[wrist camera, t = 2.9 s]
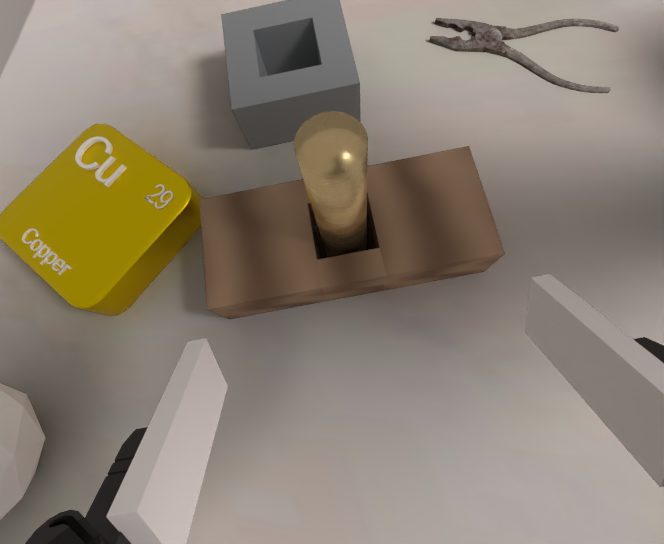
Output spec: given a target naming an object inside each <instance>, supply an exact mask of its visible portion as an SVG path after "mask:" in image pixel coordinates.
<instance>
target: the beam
mask: <svg viewBox="0 0 664 544" xmlns="http://www.w3.org/2000/svg"><path fill="white" fill-rule="evenodd" d="M200 214H201V229H202V243H203V258H204V272H205V287H206V301H207V310H209V311H212V312H214V313H216V314H219V315H221V316H223V317H226V318H228V319H233V318H238V317H244V316H249V315H254V314H260V313H265V312H270V311H276V310H281V309H286V308H292V307H297V306H302V305H308V304H313V303H318V302H324V301H329V300H334V299H340V298H345V297H350V296H356V295H361V294H366V293H372V292H377V291H382V290H388V289H393V288H398V287H403V286H409V285H414V284H419V283H425V282H430V281H435V280H441V279H446V278H451V277H457V276H462V275H467V274H473V273H478V272H483V271H485V270H486V269H488V268H489V267H490V266H491V265H492V264H493V263H494V262H495V261H497V260H498V259H499V258H500V257H501V256H502V255H503V254H505V252H504V249H503V246H502V243H501V240H500V238H499V235H498V232H497V229H496V226H495V223H494V220H493V217H492V214H491V211H490V208H489V205H488V202H487V199H486V196H485V193H484V190H483V187H482V184H481V181H480V178H479V175H478V172H477V169H476V166H475V163H474V160H473V157H472V154H471V151H470V148H469V146H467V147H462V148H457V149H452V150H447V151H442V152H437V153H432V154H427V155H422V156H417V157H412V158H407V159H402V160H396V161H391V162H386V163H381V164H376V165H371V166H367V220H368V225H369V229H370V234H371V238H372V243H373V247H374V249H371V250H365V251H360V252H355V253H350V254H344V255H339V256H334V257H329V258H324V259H321V258H320V252H319V247H318V241H317V235H316V229H315V227H316V226H318V225H317V222H316V219H315V215H314V212H313V209H312V206H311V203H310V199H309V196H308V193H307V190H306V186H305V183H304V180H303V179H301V180H296V181H291V182H286V183H281V184H276V185H271V186H266V187H261V188H256V189H251V190H246V191H241V192H236V193H231V194H226V195H221V196H216V197H211V198H206V199H201V200H200Z"/></svg>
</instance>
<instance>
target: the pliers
mask: <svg viewBox="0 0 664 544" xmlns="http://www.w3.org/2000/svg"><path fill="white" fill-rule="evenodd" d="M435 24H437V25H440V26H443V27H446V28H455V29H456V30H457V31H459V32H462V31H464V30H469V31H471V32H472V36H474V37H471V39H470V40H467V41H465V40H462V39H461V37H460V36H456V37H454V38H447V37H444V36H430V42H431V43H434V44H437V45H440V46H443V47H446V48H449V49H451V50H454V51H465V52H488V53H492V54H497V55H501V56H504V57H507V58H509V59H511V60H513V61H515V62H517V63H519V64H520V65H522V66H524V67H525V68H527V69H528V70H530V71H532V72H533V73H535V74H536V75H538V76H540V77H541V78H543V79H545V80H547V81H549V82H551V83H553V84H556V85H558V86H561V87H565V88H568V89H572V90H577V91H582V92H590V93H608V92H609V91H610V87H592V86H585V85H580V84H576V83H572V82H569V81H565V80H563V79H560V78H558V77H556V76H554V75H552V74H551V73H549V72H548V71H546V70H545V69H543V68H542V67H540V66H539V65H537V64H536V63H535V62H533V61H532V60H530V59H529V58H528V57H526V56H525V55H523V54H522V53H520V52H518V51H516V50H514V49H513V48H511V47H509V46H507V45H506V44H505V43H504V42H503V41H502V40H510V39H517V38H523V37H527V36H531V35H535V34H538V33H541V32H545V31H549V30H552V29H556V28H561V27H569V26H585V27H594V28H600V29H604V30H608V31H612V32H617V31H618V30H619V27H618V26H615V25H612V24H609V23H605V22H601V21H595V20H587V19H563V20H557V21H552V22H548V23H544V24H539V25H535V26H530V27H525V28H518V29H510V28H506V27H503V26H492V25H489V24H486V23H481V22H475V21H468V20H458V19H441V18H436V20H435Z"/></svg>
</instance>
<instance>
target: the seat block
mask: <svg viewBox="0 0 664 544" xmlns="http://www.w3.org/2000/svg"><path fill="white" fill-rule="evenodd" d="M221 16H222V25H223V35H224V44H225V53H226V63H227V72H228V81H229V91H230V100H231V109H232V112H233V114H234V116H235V118H236V120H237V122H238V124H239V126H240V128H241V130H242V132H243V134H244V136H245V138H246V140H247V142H248V144H249V146H250V148H251V149H256V148H260V147H265V146H270V145H275V144H280V143H285V142H290V141H294V140H295V136H296V133H297V131H298V130H299V128H300V127H301V126H302V124H303V123H304V122H305V121H307V120H308V119H309V118H311V117H313V116H315V115H317V114H320V113H323V112H329V111H338V112H343V113H347V114H349V115H351V116H353V117H355V118H356V119H357V120H358V121H359V122H360V82H359V78H358V74H357V70H356V66H355V61H354V57H353V53H352V49H351V45H350V41H349V37H348V33H347V29H346V24H345V20H344V16H343V12H342V8H341V4H340V0H286V1H281V2H277V3H272V4H267V5H263V6H258V7H254V8H249V9H244V10H240V11H235V12H231V13H226V14H221Z"/></svg>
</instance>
